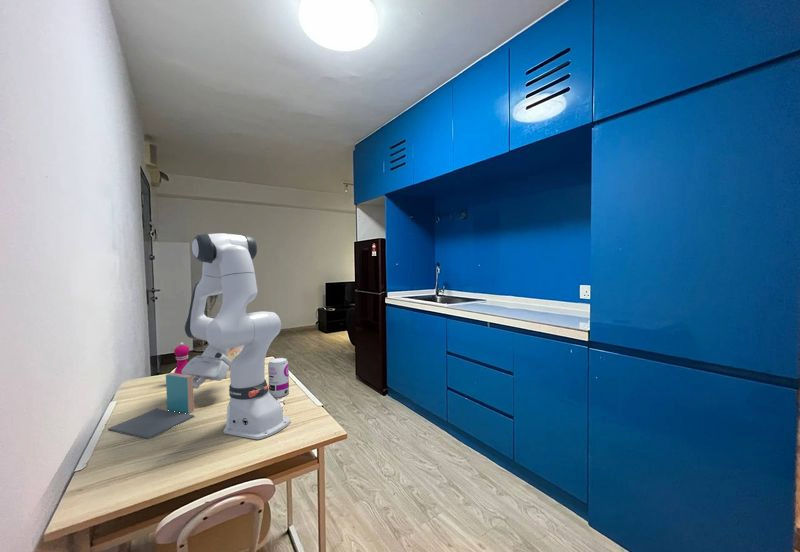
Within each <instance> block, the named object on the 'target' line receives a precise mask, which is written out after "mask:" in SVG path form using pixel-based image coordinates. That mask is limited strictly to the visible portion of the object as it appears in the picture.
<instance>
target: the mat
mask: <svg viewBox="0 0 800 552" xmlns="http://www.w3.org/2000/svg"><path fill="white" fill-rule="evenodd" d="M194 418H195V415H194V414H191V413H189V414H185V413H179V412H174V411H168V410H167V409H162V408H157V407H156V408H154V409H151V410H149V411H146V412H145V413H142V414H140V415H137V416H135V417H132V418H130V419H128V420H125V421H123V422H121V423H117V424H115V425H113V426H111V427H109V428H108V431H112V432H117V433H121V434H123V435H124V434H125V435H128V434H129V436H133V437H137V438H140V439H141V438H142V439H147V440H151V439H152V438H155V437H157V436H159V435H160V434H163V433H164V432H167V431H168V430H171V429H172V427H173V428H175V427H177V426H179V425H181V424H184V423H185V422H187V421H189V420H191V419H194ZM178 424H179V425H178ZM176 425H177V426H176ZM174 426H175V427H174Z"/></svg>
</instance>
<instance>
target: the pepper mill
mask: <svg viewBox="0 0 800 552" xmlns="http://www.w3.org/2000/svg"><path fill="white" fill-rule="evenodd" d="M173 353H174V355H175V360H176V366H175V370H174V371H173V373H177V374H182V369H183V368H184V367H185V366H186V364H187V363H188V362H189V361H188V359H189V353H190V348H189V346H188V345H185V344H184V342H183V341H182V342H179V345H178V346H177V347H175V348H174V351H173Z"/></svg>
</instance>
